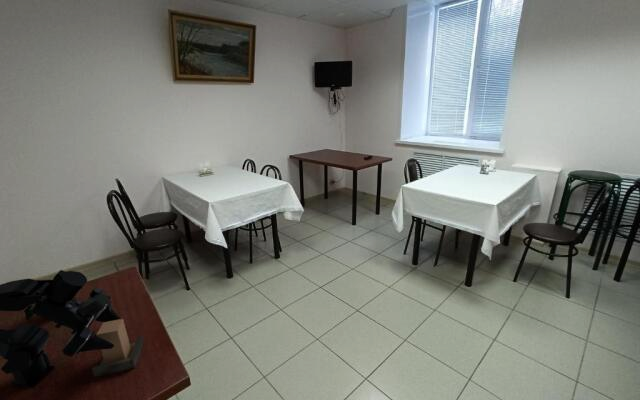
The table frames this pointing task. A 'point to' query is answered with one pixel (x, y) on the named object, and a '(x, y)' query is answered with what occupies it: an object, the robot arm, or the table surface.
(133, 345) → the grey shallow square piece
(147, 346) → the table surface
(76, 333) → the robot arm
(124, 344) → the tan block
